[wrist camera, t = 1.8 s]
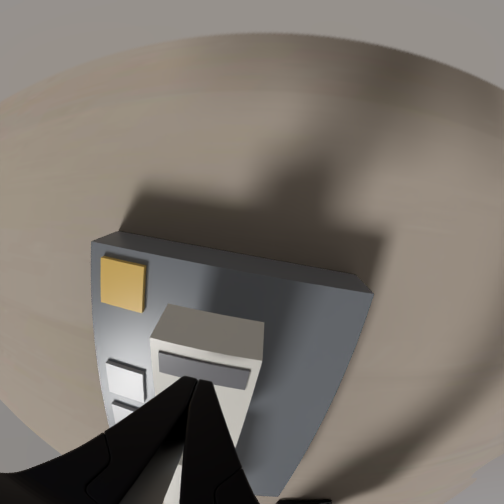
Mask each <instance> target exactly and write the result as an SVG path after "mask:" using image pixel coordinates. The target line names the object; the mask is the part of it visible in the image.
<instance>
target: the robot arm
mask: <svg viewBox="0 0 504 504" xmlns="http://www.w3.org/2000/svg"><path fill="white" fill-rule="evenodd" d="M104 433H105V434H104ZM104 433H101V434H100V435H98V436H96V437H95V438H93V439H92V440H90V441H88V442H87V443H85V444H83V445H82V446H80V447H78V448H76V449H74V450H72V451H70V452H68V453H66V454H64V455H62V456H59V457H57V458H54V459H52V460H50V461H47V462H45V463H42V464H40V465H37V466H35V467H32V468H29V469H27V470H23V471H19V472H14V473H0V504H162V503H163V501H164V498H165V496H166V493H167V491H168V488H169V486H170V483H171V481H172V478H173V476H174V473H175V471H176V468H177V466H178V463H179V461H180V458H181V456H182V453H183V460H182V472H181V484H180V499H179V504H260V503H259V502H258V500H257V498H256V497H255V495H254V493H253V490H252V488H251V486H250V484H249V482H248V480H247V477H246V475H245V472H244V470H243V469H242V465H241V462H240V460H239V457H238V454H237V452H236V449H235V446H234V444H233V441H232V438H231V435H230V432H229V430H228V427H227V424H226V421H225V418H224V415H223V412H222V409H221V406H220V403H219V400H218V397H217V394H216V391H215V388H214V384H213V382H212V381H209V380H204V379H199V380H197V378H195V377H190V376H185V375H184V376H182V377H181V378H179V379H178V380H177V381H175V382H174V383H173V384H171V385H170V386H169V387H167V388H166V389H165V390H163V391H162V392H160V393H159V394H158V395H156V396H155V397H154V398H152V399H151V400H149V401H148V402H147V403H145V404H144V405H142V406H141V407H139V408H138V409H137V410H135V411H134V412H132V413H131V414H129V415H128V416H127V417H125V418H124V419H122V420H121V421H119V422H118V423H116V424H115V425H113V426H112V427H110V428H109V429H107V430H106V431H105V432H104ZM276 504H332V501H331V500H318V501H278V502H277V503H276Z"/></svg>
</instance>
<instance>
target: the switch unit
mask: <svg viewBox="0 0 504 504" xmlns="http://www.w3.org/2000/svg"><path fill="white" fill-rule="evenodd" d="M373 296H374V293H373V292H372V291H371V290H370V289H369V288H368V287H367V286H366V285H365V284H364V283H363V282H362V281H361V280H360V279H359V278H358V277H357V276H356V275H354V274H349V273H343V272H338V271H332V270H327V269H321V268H316V267H310V266H305V265H299V264H294V263H288V262H283V261H277V260H272V259H266V258H261V257H255V256H250V255H245V254H239V253H234V252H228V251H223V250H217V249H212V248H207V247H201V246H196V245H190V244H185V243H180V242H174V241H169V240H164V239H158V238H153V237H148V236H142V235H137V234H132V233H126V232H121V231H117V232H114V233H111V234H109V235H106V236H104V237H101V238H98V239H96V240H93V241H91V297H92V315H93V328H94V339H95V348H96V357H97V364H98V371H99V378H100V384H101V389H102V395H103V400H104V405H105V410H106V415H107V419H108V423H109V427H112V426H113V425H115V424H116V423H118V422H119V421H121V420H122V419H124V418H125V417H127V416H128V415H129V414H131V413H132V412H134V411H135V410H137V409H138V408H139V407H141V406H142V405H144V404H145V403H147V402H148V401H149V400H151V399H152V398H154V397H155V390H154V381H153V372H152V361H151V349H150V336H151V334H152V332H153V330H154V328H155V327H156V325H157V323H158V321H159V319H160V317H161V315H162V314H163V312H164V310H165V308H166V306H167V305H168V303H169V304H173V305H178V306H182V307H187V308H191V309H196V310H201V311H206V312H211V313H216V314H221V315H226V316H232V317H237V318H242V319H248V320H254V321H260V322H264V340H263V359H262V364H261V367H260V371H259V374H258V378H257V381H256V384H255V388H254V391H253V394H252V398H251V401H250V404H249V407H248V411H247V414H246V417H245V420H244V423H243V426H242V429H241V433H240V436H239V439H238V442H237V445H236V448H235V449H236V452H237V454H238V457H239V460H240V462H241V465H242V469H243V470H244V472H245V475H246V477H247V480H248V482H249V484H250V486H251V488H252V490H253V493H254V495H259V496H275V497H278V496H279V495H280V493H281V492H282V490H283V489H284V487H285V486H286V484H287V482H288V481H289V479H290V478H291V476H292V474H293V473H294V471H295V469H296V468H297V466H298V464H299V463H300V461H301V459H302V458H303V456H304V454H305V452H306V451H307V449H308V447H309V445H310V443H311V442H312V440H313V438H314V436H315V434H316V432H317V430H318V428H319V427H320V425H321V423H322V421H323V419H324V417H325V415H326V413H327V411H328V409H329V407H330V404H331V402H332V400H333V398H334V396H335V394H336V392H337V389H338V387H339V385H340V383H341V380H342V378H343V376H344V374H345V371H346V369H347V366H348V364H349V362H350V359H351V357H352V354H353V352H354V349H355V347H356V344H357V341H358V339H359V336H360V333H361V331H362V328H363V325H364V322H365V320H366V317H367V314H368V311H369V308H370V305H371V302H372V299H373Z"/></svg>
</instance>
